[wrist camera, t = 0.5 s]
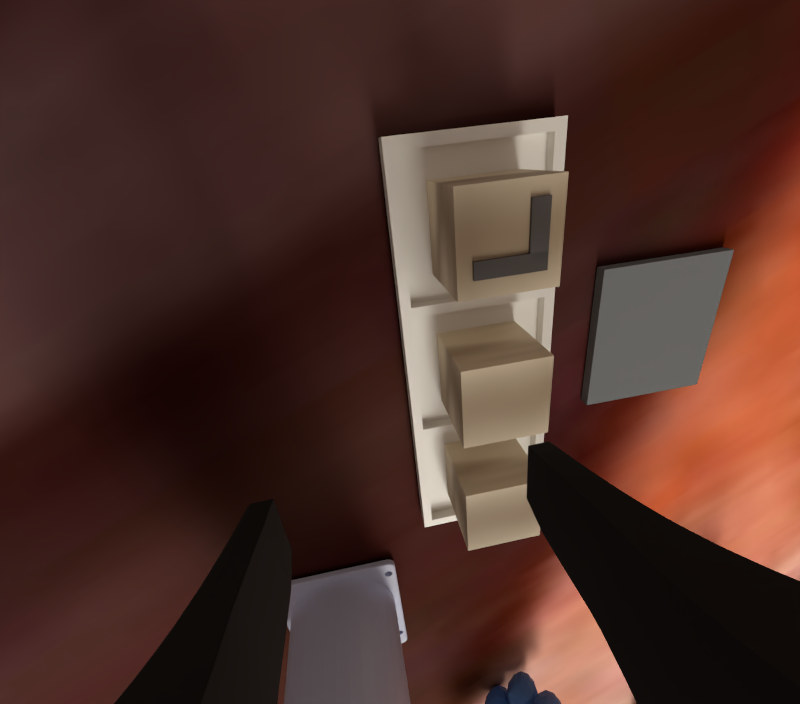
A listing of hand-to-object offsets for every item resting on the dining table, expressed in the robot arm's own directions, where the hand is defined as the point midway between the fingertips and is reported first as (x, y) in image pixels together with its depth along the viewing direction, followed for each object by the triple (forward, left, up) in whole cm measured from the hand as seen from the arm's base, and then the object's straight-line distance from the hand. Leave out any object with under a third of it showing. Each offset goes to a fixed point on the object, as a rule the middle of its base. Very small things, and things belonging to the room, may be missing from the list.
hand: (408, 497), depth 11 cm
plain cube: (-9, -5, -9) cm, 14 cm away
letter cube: (+5, -5, -10) cm, 12 cm away
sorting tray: (-2, -5, -10) cm, 11 cm away
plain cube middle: (-2, -5, -9) cm, 11 cm away
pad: (-2, -15, -10) cm, 18 cm away
